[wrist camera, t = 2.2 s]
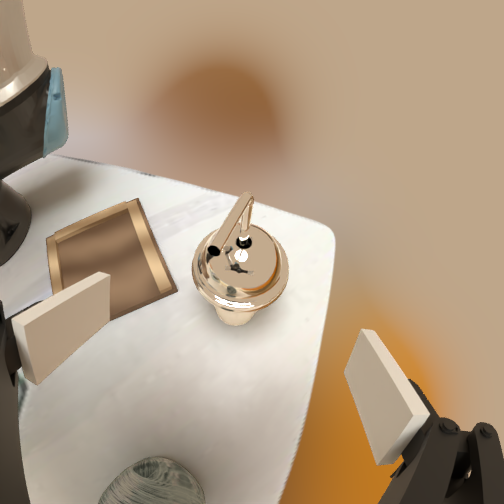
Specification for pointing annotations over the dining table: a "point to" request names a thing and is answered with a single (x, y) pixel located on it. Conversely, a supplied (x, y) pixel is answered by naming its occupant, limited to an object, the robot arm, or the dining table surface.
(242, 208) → the cup with straw
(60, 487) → the dining table surface
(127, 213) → the brown flat square tray
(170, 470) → the spool
